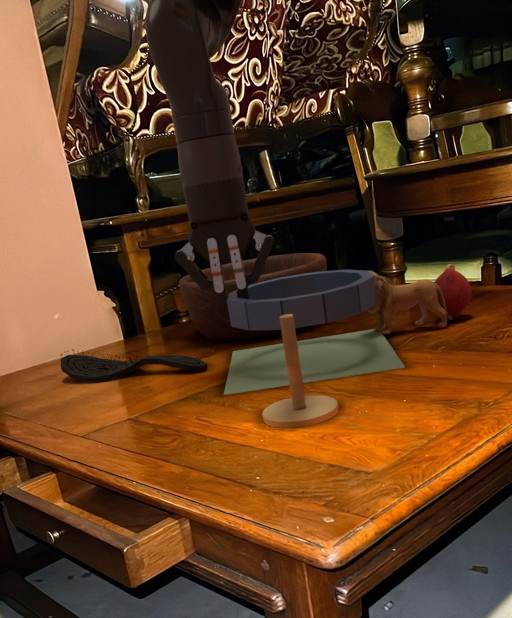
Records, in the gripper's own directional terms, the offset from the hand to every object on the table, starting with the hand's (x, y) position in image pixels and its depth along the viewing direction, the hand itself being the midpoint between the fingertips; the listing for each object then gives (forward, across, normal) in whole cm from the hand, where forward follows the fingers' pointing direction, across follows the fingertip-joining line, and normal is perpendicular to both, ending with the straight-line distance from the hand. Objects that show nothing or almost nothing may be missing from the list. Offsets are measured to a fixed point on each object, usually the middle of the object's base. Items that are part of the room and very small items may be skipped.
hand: (236, 318), depth 92 cm
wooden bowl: (+8, -2, -28) cm, 29 cm away
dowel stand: (+7, -7, +22) cm, 24 cm away
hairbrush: (+8, +17, -9) cm, 21 cm away
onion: (+8, -31, -12) cm, 34 cm away
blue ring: (+1, -9, 0) cm, 9 cm away
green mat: (+7, -9, 0) cm, 12 cm away
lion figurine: (+7, -23, -8) cm, 25 cm away
